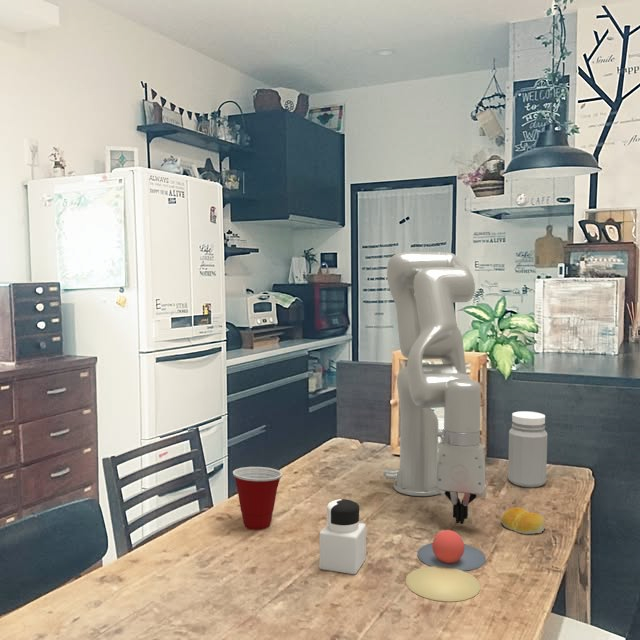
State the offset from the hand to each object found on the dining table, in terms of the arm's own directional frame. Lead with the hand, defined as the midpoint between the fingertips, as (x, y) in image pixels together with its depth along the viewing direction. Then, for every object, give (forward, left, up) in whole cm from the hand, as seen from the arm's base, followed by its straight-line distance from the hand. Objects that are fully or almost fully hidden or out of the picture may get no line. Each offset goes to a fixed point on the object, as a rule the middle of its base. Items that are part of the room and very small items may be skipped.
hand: (460, 521), depth 145 cm
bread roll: (+13, +5, -2) cm, 14 cm away
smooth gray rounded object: (0, -15, -2) cm, 15 cm away
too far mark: (0, -27, -2) cm, 27 cm away
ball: (0, -18, +2) cm, 18 cm away
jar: (+13, +37, -2) cm, 39 cm away
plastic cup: (-42, -12, -2) cm, 44 cm away
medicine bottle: (-19, -25, -2) cm, 31 cm away
